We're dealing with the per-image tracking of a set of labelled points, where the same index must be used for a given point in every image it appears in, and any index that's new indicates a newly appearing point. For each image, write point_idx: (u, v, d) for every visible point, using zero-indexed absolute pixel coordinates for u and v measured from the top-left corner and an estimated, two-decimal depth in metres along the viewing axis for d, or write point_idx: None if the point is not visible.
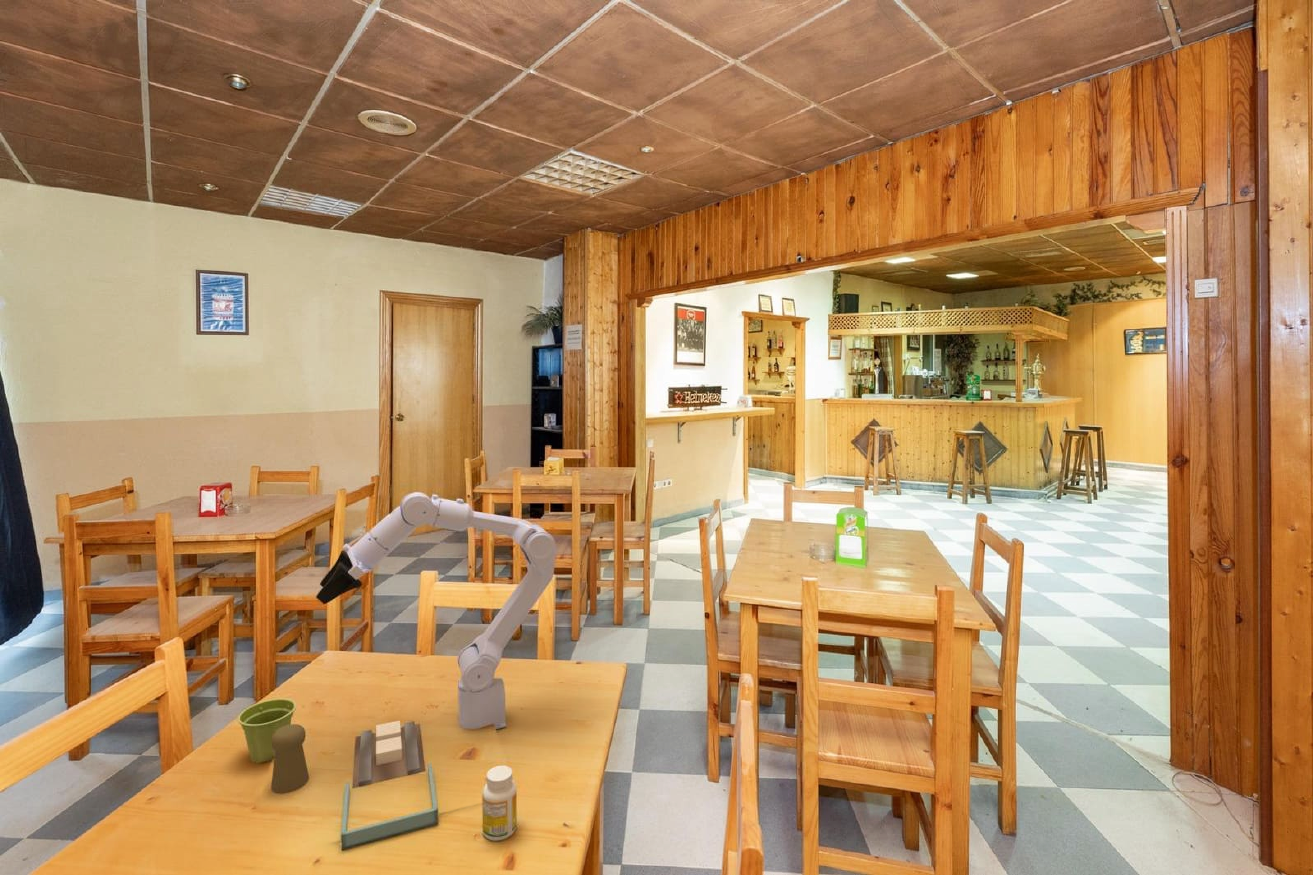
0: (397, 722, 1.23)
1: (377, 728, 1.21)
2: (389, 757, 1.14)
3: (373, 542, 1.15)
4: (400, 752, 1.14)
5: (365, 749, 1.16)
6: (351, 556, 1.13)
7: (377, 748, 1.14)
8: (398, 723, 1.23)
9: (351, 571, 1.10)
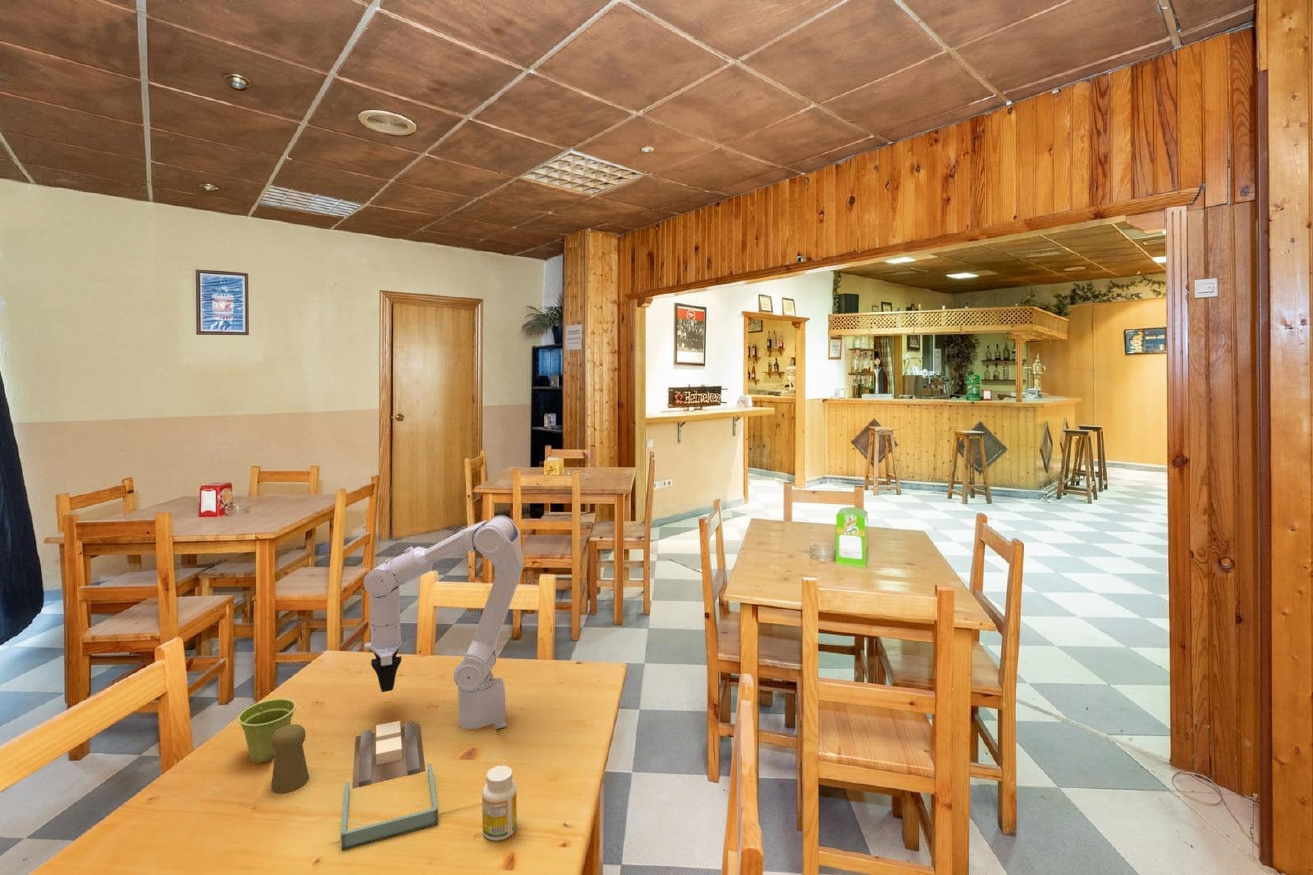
0: (397, 722, 1.23)
1: (377, 728, 1.21)
2: (389, 757, 1.14)
3: (379, 629, 1.24)
4: (400, 752, 1.14)
5: (365, 749, 1.16)
6: (374, 651, 1.24)
7: (377, 748, 1.14)
8: (398, 723, 1.23)
9: (382, 663, 1.21)
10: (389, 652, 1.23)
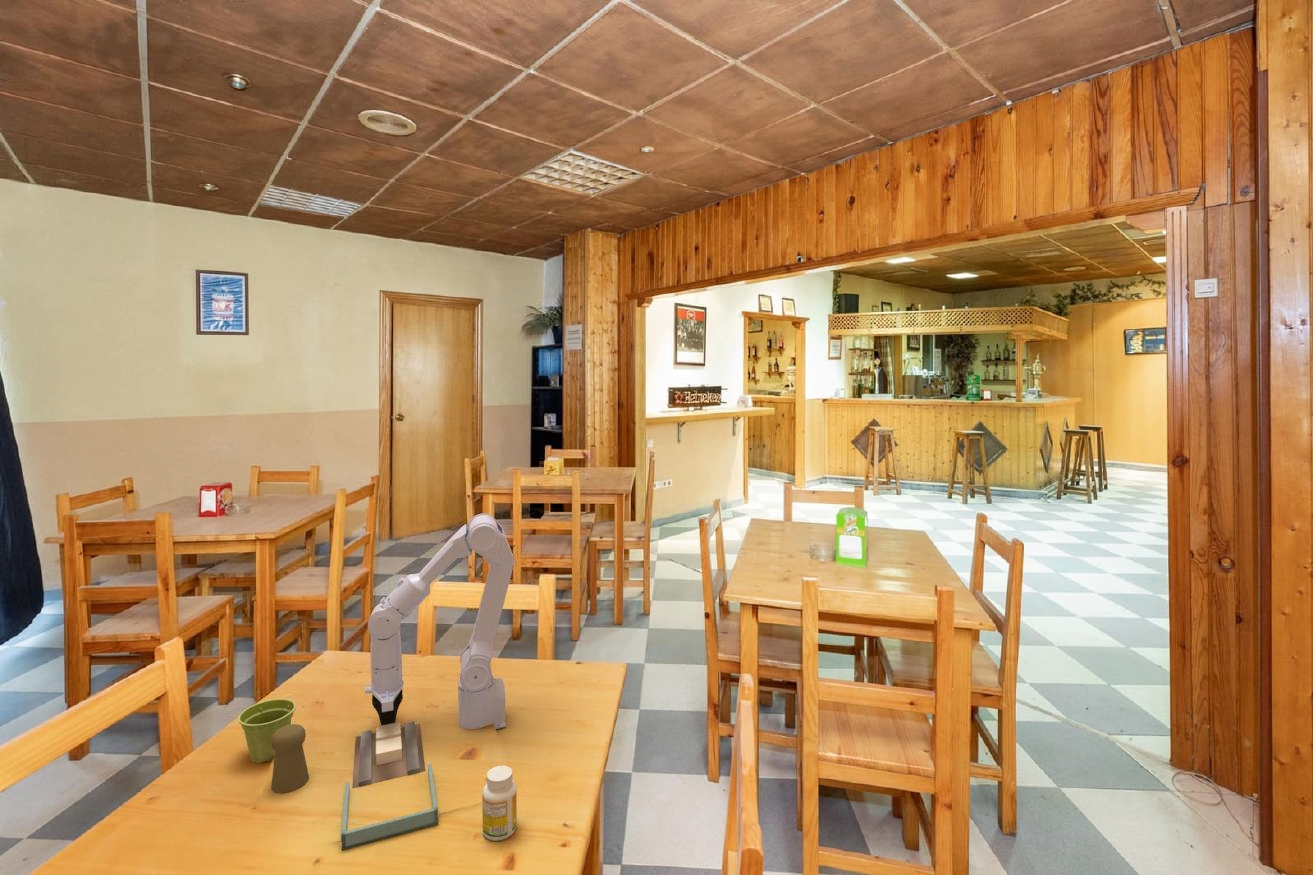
0: (397, 723, 1.23)
1: (377, 729, 1.20)
2: (389, 757, 1.14)
3: (380, 672, 1.20)
4: (400, 752, 1.14)
5: (365, 749, 1.16)
6: (375, 695, 1.19)
7: (377, 748, 1.14)
8: (398, 724, 1.22)
9: (383, 709, 1.16)
10: (390, 697, 1.19)
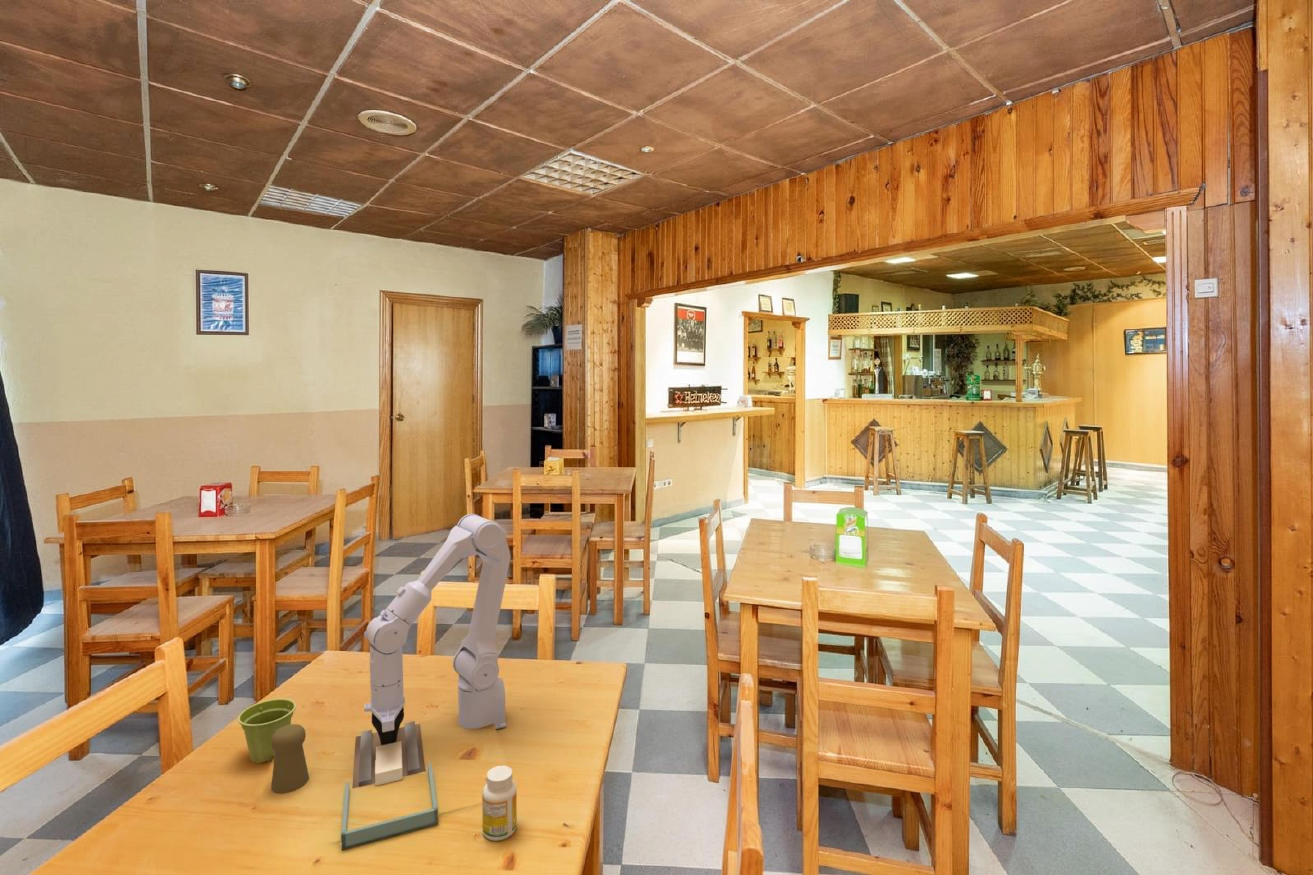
0: (398, 743, 1.16)
1: (377, 750, 1.14)
2: (389, 777, 1.08)
3: (380, 689, 1.13)
4: (400, 771, 1.09)
5: (365, 749, 1.16)
6: (375, 714, 1.12)
7: (376, 767, 1.09)
8: (399, 744, 1.16)
9: (383, 729, 1.09)
10: (391, 715, 1.12)
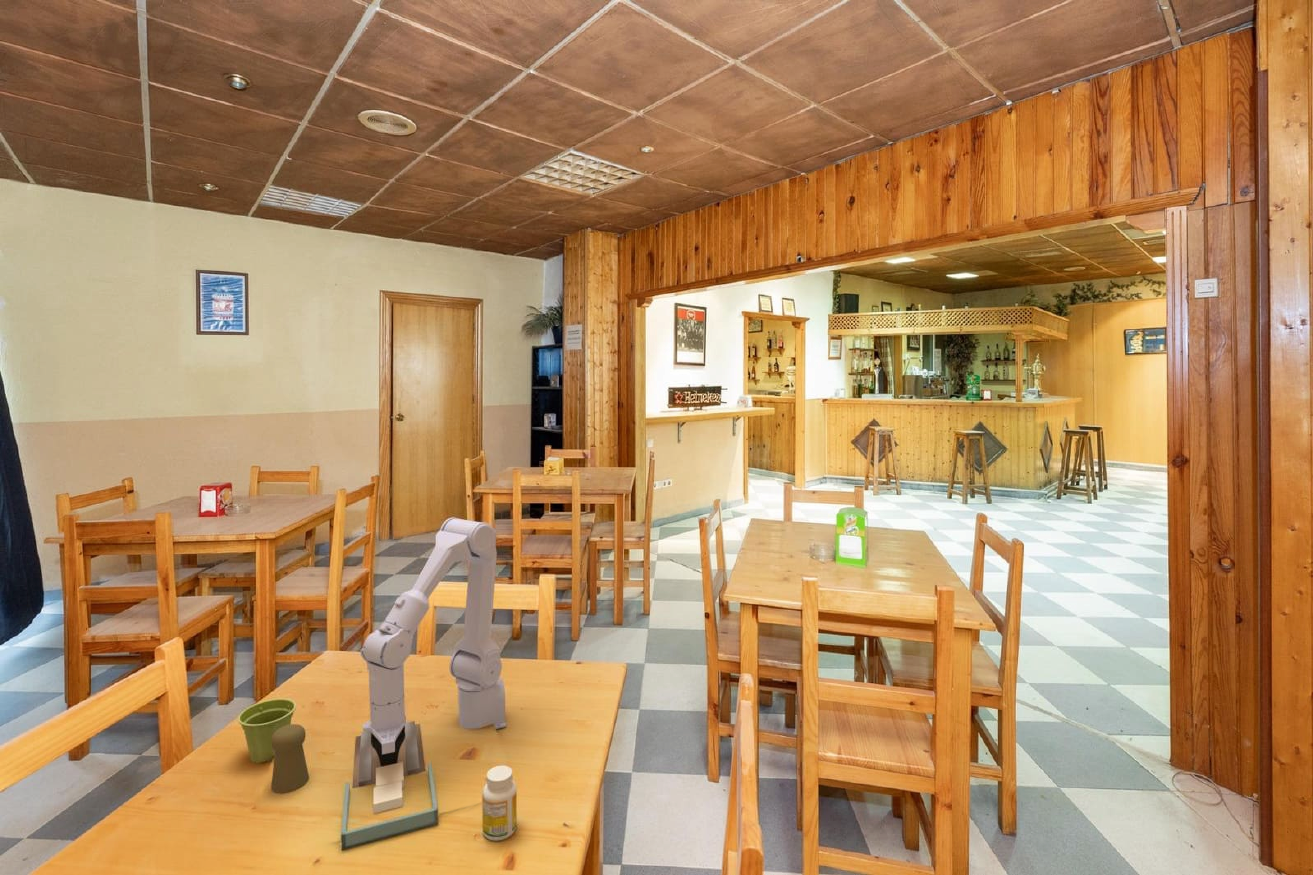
0: (399, 764, 1.09)
1: (377, 773, 1.07)
2: (388, 807, 1.01)
3: (380, 708, 1.06)
4: (400, 801, 1.02)
5: (365, 749, 1.16)
6: (375, 734, 1.06)
7: (375, 796, 1.02)
8: (401, 766, 1.09)
9: (383, 751, 1.03)
10: (392, 736, 1.05)
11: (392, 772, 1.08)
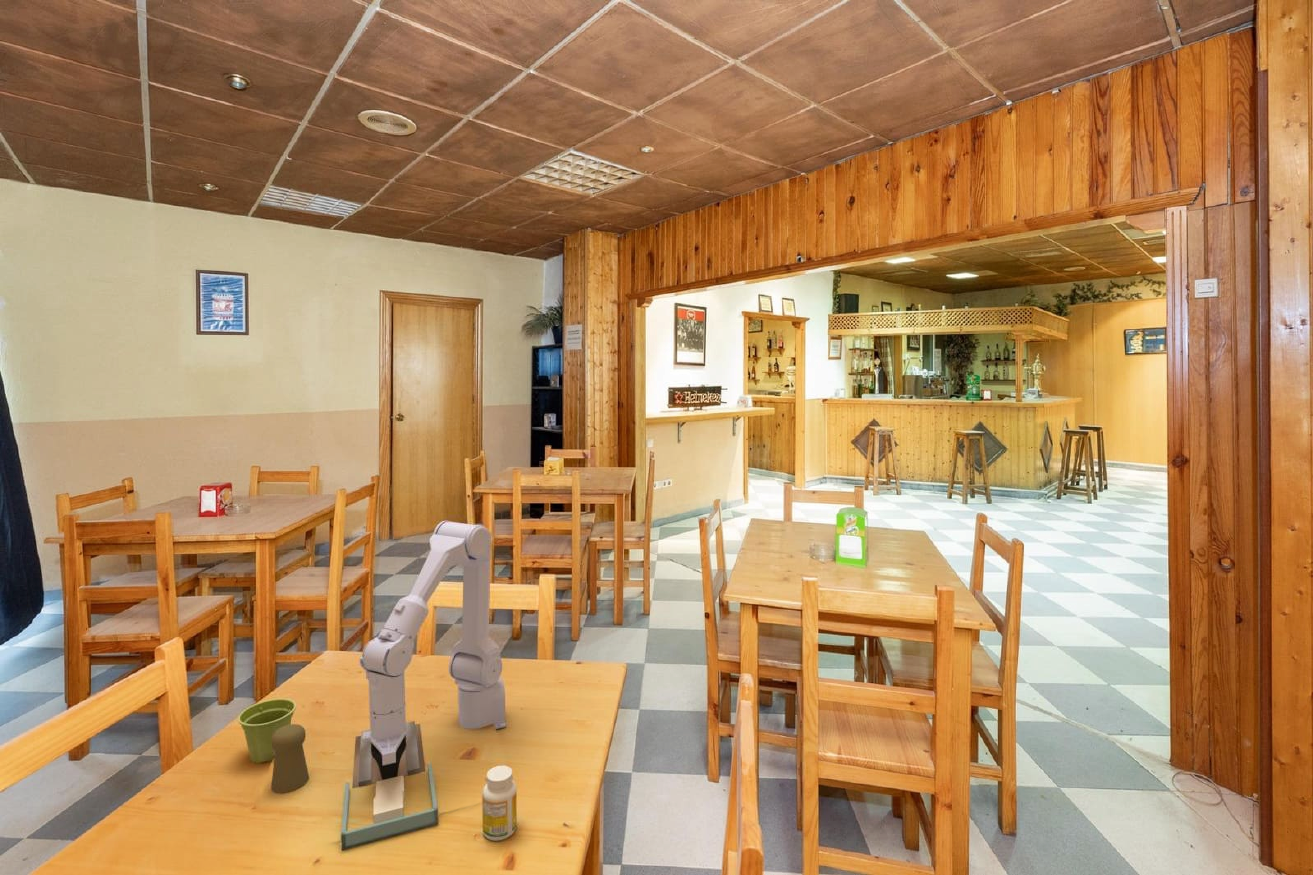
0: (400, 777, 1.07)
1: (377, 785, 1.05)
2: (389, 818, 0.99)
3: (380, 717, 1.03)
4: (401, 811, 0.99)
5: (365, 749, 1.16)
6: (375, 744, 1.03)
7: (375, 807, 0.99)
8: (401, 779, 1.06)
9: (384, 761, 1.00)
10: (392, 746, 1.02)
11: (392, 784, 1.05)
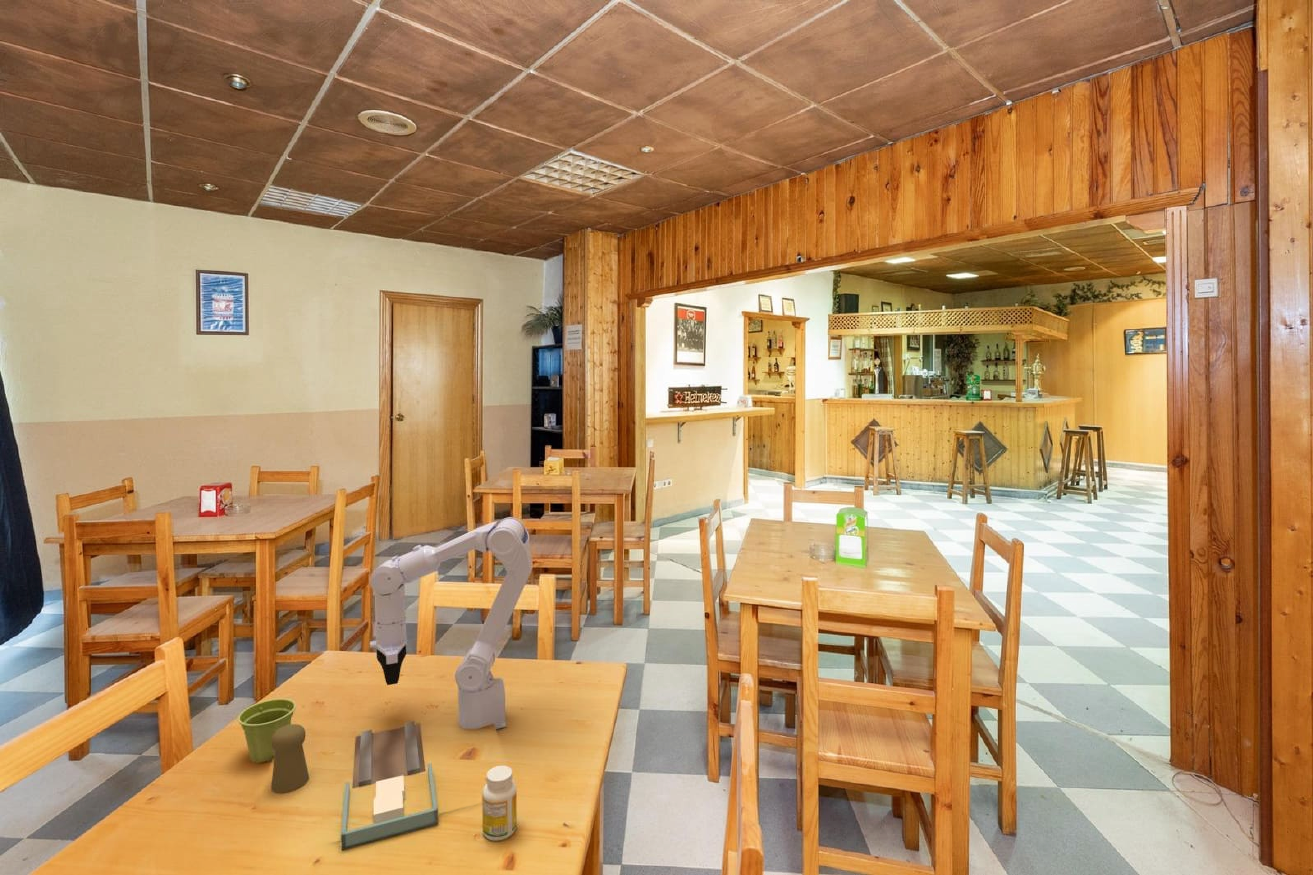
0: (400, 777, 1.07)
1: (377, 785, 1.05)
2: (389, 818, 0.99)
3: (384, 627, 1.23)
4: (401, 811, 0.99)
5: (365, 749, 1.16)
6: (380, 649, 1.22)
7: (375, 807, 0.99)
8: (401, 779, 1.06)
9: (387, 661, 1.19)
10: (394, 650, 1.22)
11: (392, 784, 1.05)
